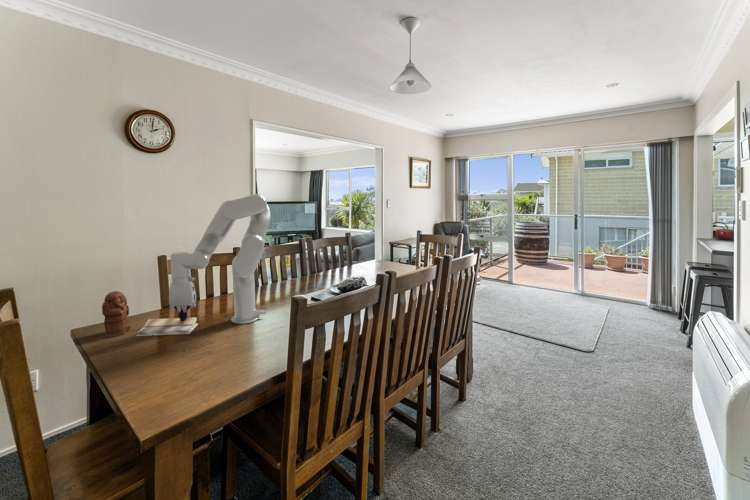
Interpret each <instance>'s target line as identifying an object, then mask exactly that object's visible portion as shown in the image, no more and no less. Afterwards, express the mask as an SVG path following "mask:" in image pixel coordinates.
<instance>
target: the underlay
mask: <svg viewBox="0 0 750 500" xmlns="http://www.w3.org/2000/svg"><path fill="white" fill-rule="evenodd" d="M198 325H199V323H197V322H196V323H195V325H194V327H193V328H192V329H191V331H190V332H189V333H177V334H155V335H154V336H168V335H169V336H171V335H189V334H191V333H192V332H193V330H194V329H195V328H196V327H197V326H198ZM147 336H148V337H149V336H152V335H137V334H136V335H135V337H147Z"/></svg>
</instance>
